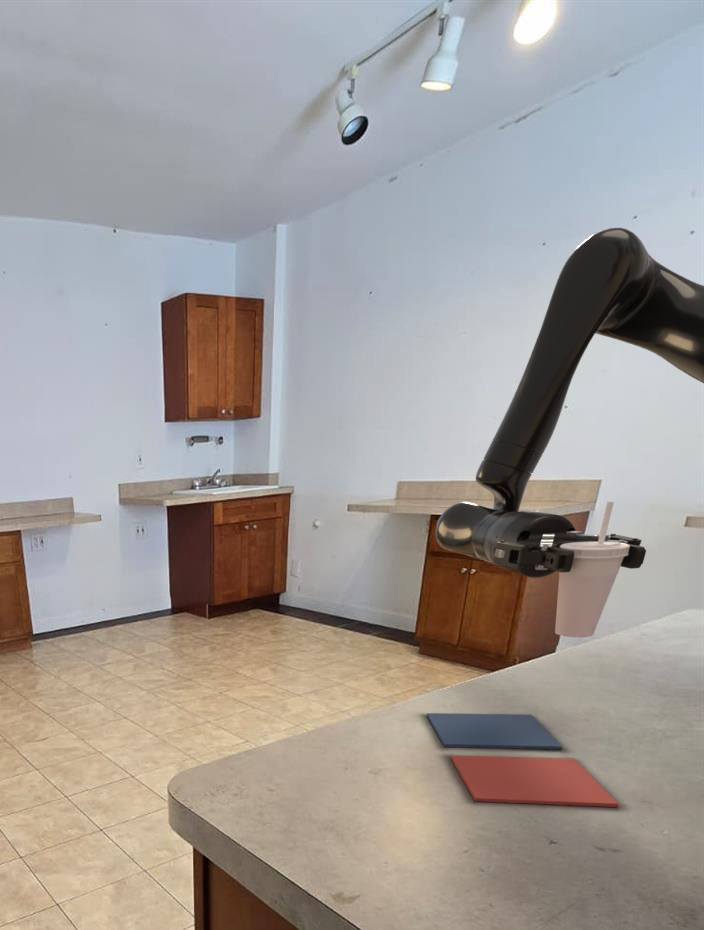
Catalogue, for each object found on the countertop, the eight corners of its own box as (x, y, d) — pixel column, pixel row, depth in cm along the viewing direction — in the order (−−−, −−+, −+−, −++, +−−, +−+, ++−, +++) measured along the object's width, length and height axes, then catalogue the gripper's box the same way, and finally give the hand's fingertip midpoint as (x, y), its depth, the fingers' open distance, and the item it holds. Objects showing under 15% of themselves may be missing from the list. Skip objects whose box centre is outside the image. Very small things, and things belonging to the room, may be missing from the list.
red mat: (573, 761, 73) (574, 758, 73) (617, 807, 63) (618, 803, 63) (450, 758, 76) (451, 755, 76) (474, 801, 66) (475, 798, 66)
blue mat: (530, 717, 86) (531, 714, 86) (561, 749, 76) (562, 746, 76) (426, 715, 89) (427, 713, 88) (444, 746, 79) (444, 743, 79)
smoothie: (615, 641, 69) (651, 502, 63) (546, 639, 72) (575, 506, 66) (599, 627, 75) (631, 498, 69) (536, 626, 77) (562, 501, 71)
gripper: (473, 515, 82) (540, 527, 67) (592, 508, 80) (688, 518, 65) (464, 576, 85) (526, 600, 70) (578, 569, 83) (666, 592, 68)
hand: (604, 560), depth 68 cm, fingers closed on smoothie, 6 cm apart
